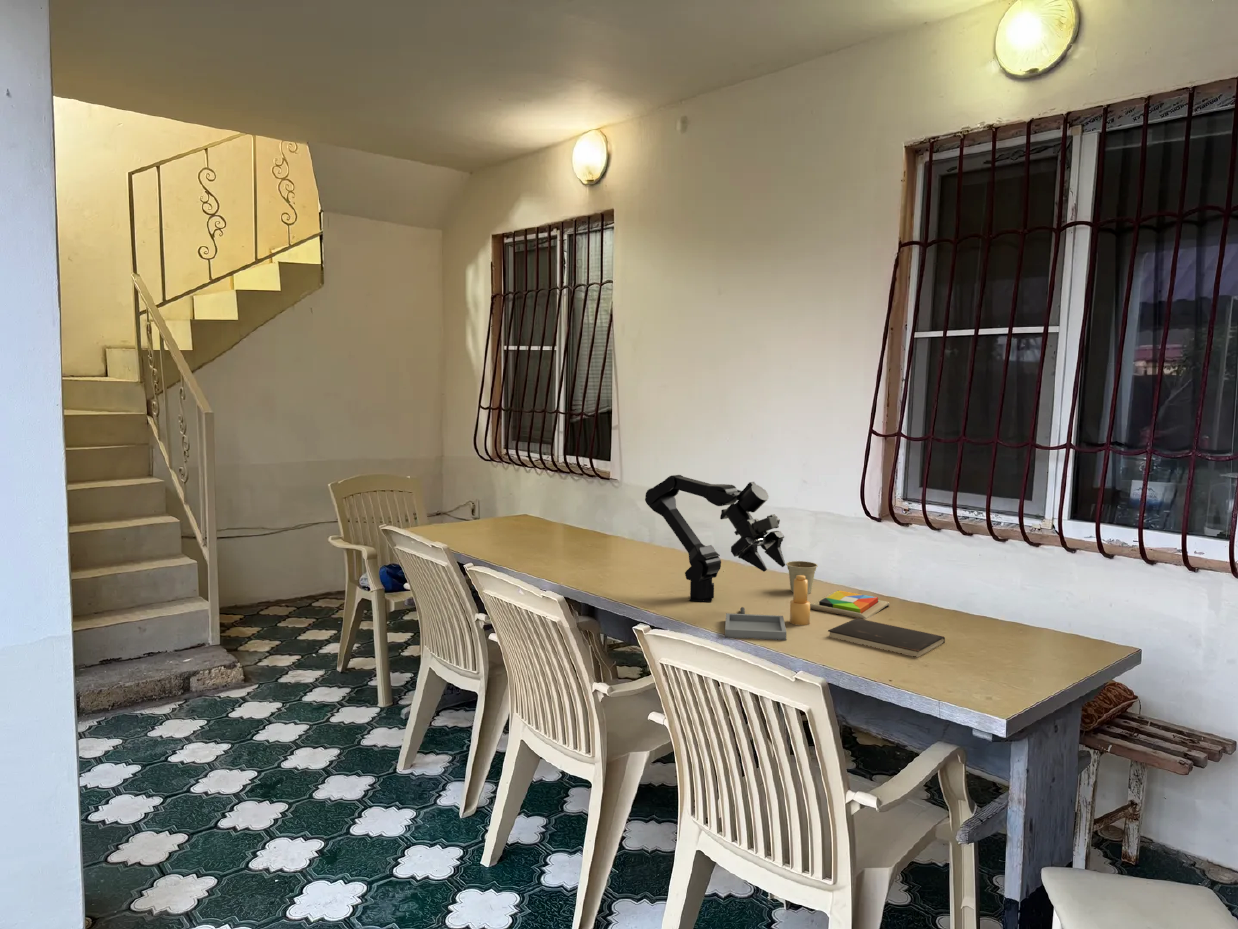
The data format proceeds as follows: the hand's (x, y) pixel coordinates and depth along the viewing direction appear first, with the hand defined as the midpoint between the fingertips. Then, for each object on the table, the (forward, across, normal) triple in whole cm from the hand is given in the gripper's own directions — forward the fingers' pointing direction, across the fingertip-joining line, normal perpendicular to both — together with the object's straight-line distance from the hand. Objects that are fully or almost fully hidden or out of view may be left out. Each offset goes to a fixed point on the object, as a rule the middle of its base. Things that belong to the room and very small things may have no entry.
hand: (775, 568), depth 221 cm
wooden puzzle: (+17, +23, +2) cm, 29 cm away
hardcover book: (+32, +2, -13) cm, 35 cm away
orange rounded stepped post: (+15, 0, +3) cm, 16 cm away
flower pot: (+3, +30, +15) cm, 33 cm away
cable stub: (+5, -5, +14) cm, 16 cm away
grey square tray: (+12, -14, +7) cm, 20 cm away
